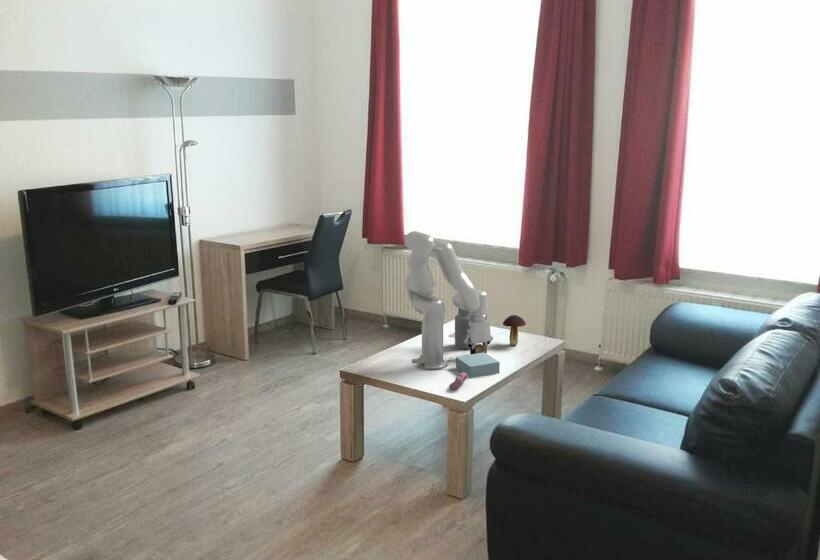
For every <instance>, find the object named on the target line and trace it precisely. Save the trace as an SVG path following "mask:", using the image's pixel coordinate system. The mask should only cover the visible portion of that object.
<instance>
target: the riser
mask: <svg viewBox="0 0 820 560" xmlns="http://www.w3.org/2000/svg"><path fill="white" fill-rule="evenodd" d="M500 364H501V363H500V361H499V360H497V359H496V358H494V357H493V356H490V355H489V354H487V353H484V352H483V353H477V354H471V355H470V354H465V355H459V356H455V368H456V369H457V370H458V371H460V373H463V372H464V373H467V374H468V376H469V378H470V379H473V378H478V377H484V376H490V375H496V374H500ZM468 376H467V377H468ZM472 377H473V378H472Z"/></svg>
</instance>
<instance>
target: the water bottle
mask: <svg viewBox="0 0 820 560" xmlns="http://www.w3.org/2000/svg"><path fill="white" fill-rule="evenodd" d="M457 311H458V312H457V313H458V314H456V315H455V316H454V346H455V348H457V349H459V350H470V347H469V346H467V345H466V344H465V343H464V341H465V339H466V338H467V332H468V324H469V321H470V319H468V317H469V316H470V312H467V311H465V310H462V309H460V308H458V307H457ZM468 343H469V344H470V341H468Z"/></svg>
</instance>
